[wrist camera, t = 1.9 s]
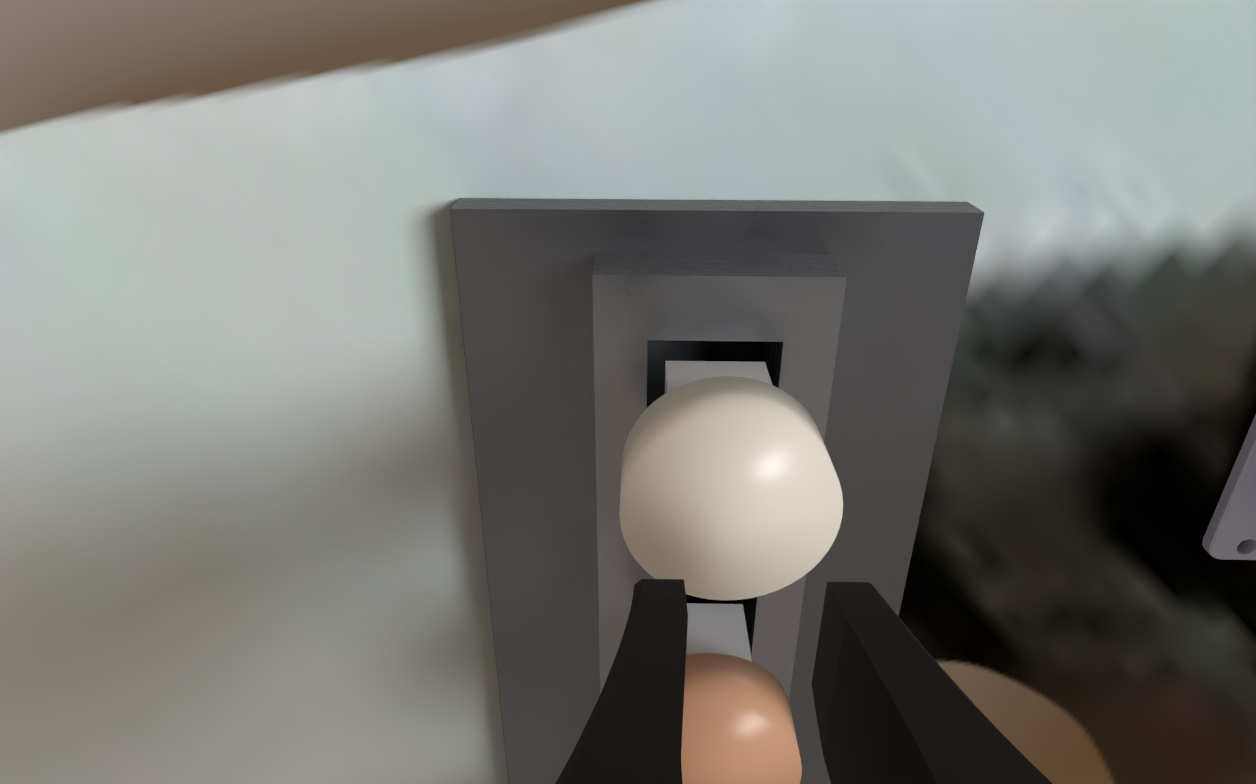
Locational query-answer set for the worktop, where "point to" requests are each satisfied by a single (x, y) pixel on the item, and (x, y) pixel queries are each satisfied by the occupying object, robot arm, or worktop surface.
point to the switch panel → (617, 396)
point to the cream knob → (727, 483)
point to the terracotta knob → (732, 707)
